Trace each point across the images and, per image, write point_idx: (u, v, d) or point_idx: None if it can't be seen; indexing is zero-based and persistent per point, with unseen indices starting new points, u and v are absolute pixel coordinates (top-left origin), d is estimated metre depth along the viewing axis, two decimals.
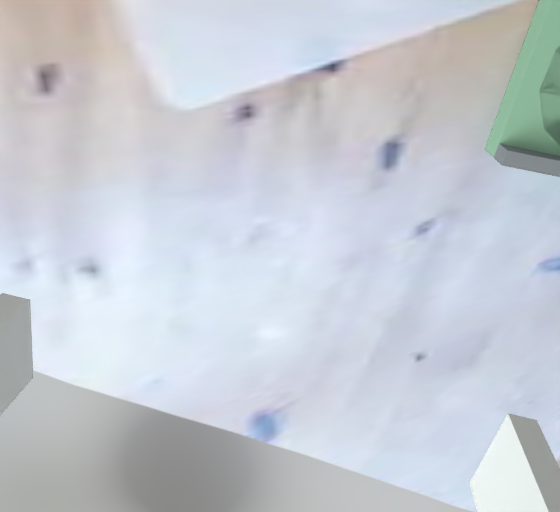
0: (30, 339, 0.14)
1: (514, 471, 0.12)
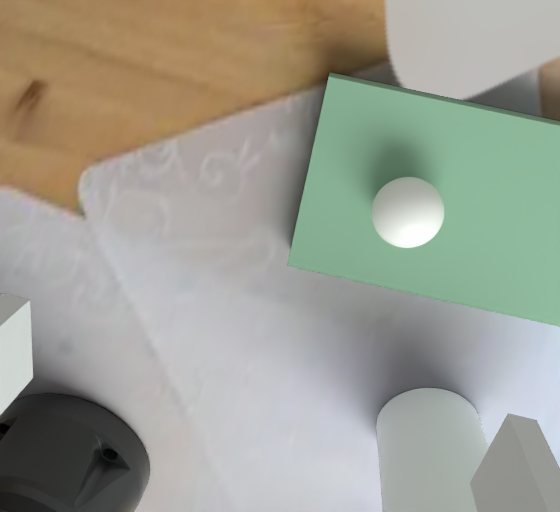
0: (30, 339, 0.14)
1: (514, 471, 0.12)
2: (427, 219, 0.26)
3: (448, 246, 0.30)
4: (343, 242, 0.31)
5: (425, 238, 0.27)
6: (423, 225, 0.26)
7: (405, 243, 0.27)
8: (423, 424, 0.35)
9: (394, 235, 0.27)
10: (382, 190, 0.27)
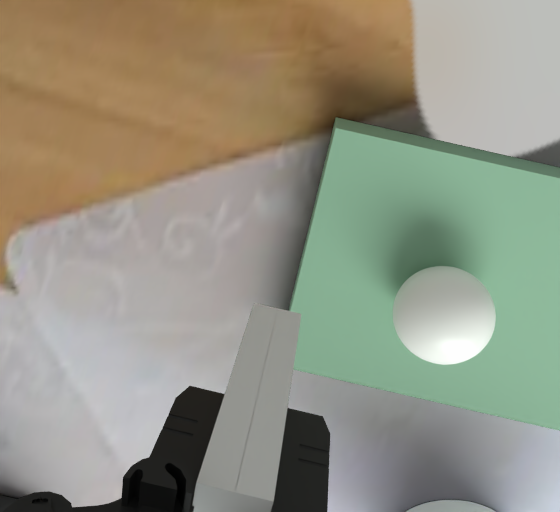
0: None
1: None
2: (475, 334, 0.18)
3: (491, 349, 0.23)
4: (351, 339, 0.23)
5: (470, 356, 0.19)
6: (469, 342, 0.18)
7: (442, 362, 0.19)
8: None
9: (426, 353, 0.19)
10: (409, 286, 0.20)
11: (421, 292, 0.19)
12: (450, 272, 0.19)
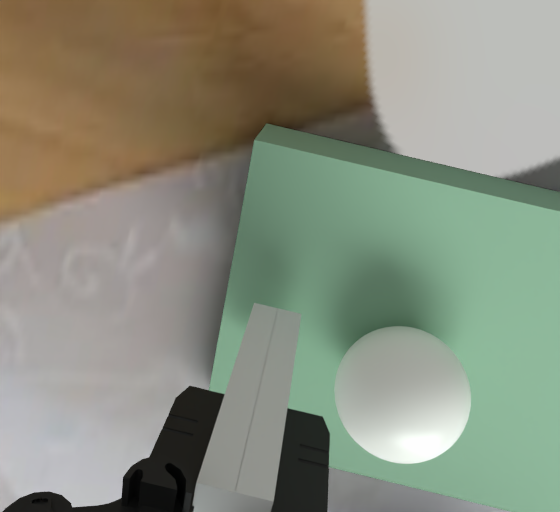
0: None
1: None
2: (440, 431, 0.13)
3: (470, 425, 0.18)
4: (291, 408, 0.18)
5: (434, 457, 0.14)
6: (431, 442, 0.13)
7: (396, 462, 0.14)
8: None
9: (374, 451, 0.14)
10: (354, 356, 0.14)
11: (367, 368, 0.14)
12: (409, 340, 0.14)
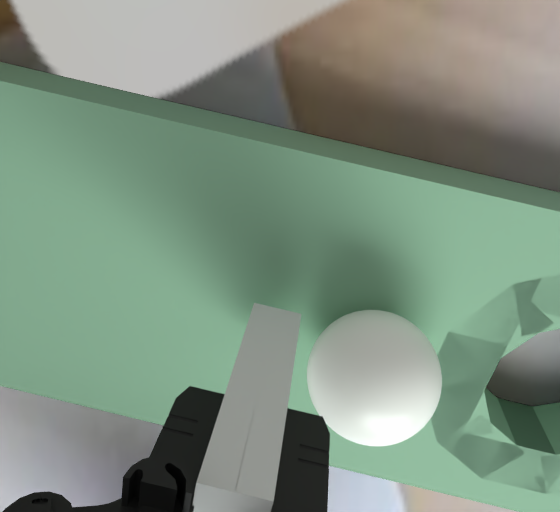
0: None
1: None
2: (347, 397, 0.13)
3: (153, 347, 0.18)
4: None
5: (348, 432, 0.14)
6: (338, 404, 0.13)
7: None
8: None
9: None
10: None
11: (334, 322, 0.15)
12: (380, 317, 0.14)
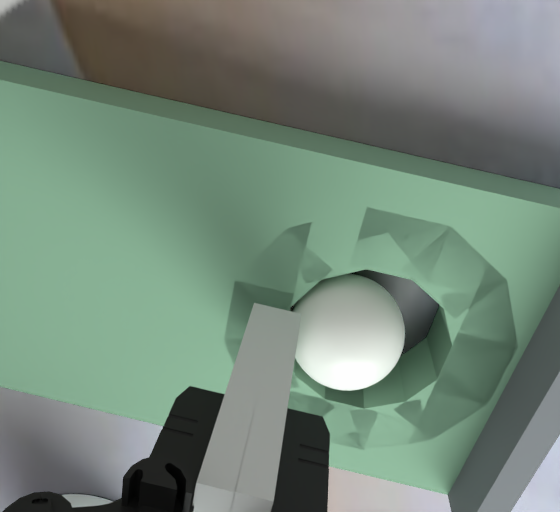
0: None
1: None
2: None
3: None
4: None
5: None
6: None
7: None
8: None
9: None
10: (395, 337, 0.16)
11: (395, 315, 0.16)
12: (357, 307, 0.15)
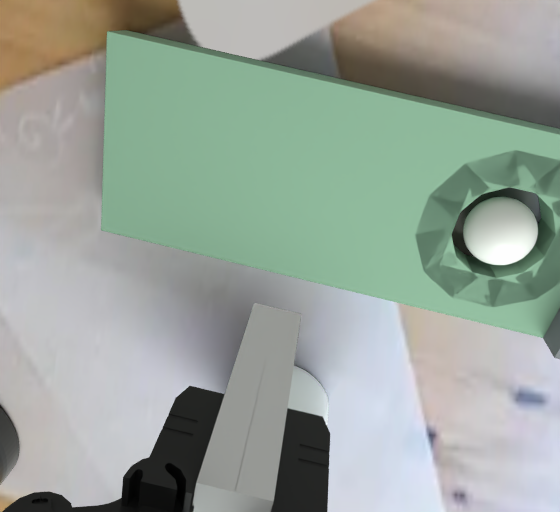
0: None
1: None
2: None
3: (252, 212, 0.30)
4: (150, 206, 0.31)
5: None
6: None
7: None
8: None
9: None
10: (537, 228, 0.28)
11: None
12: (521, 212, 0.27)
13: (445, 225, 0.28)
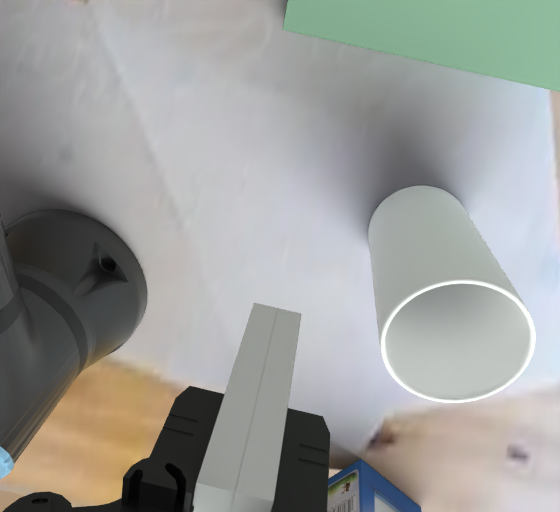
0: None
1: None
2: None
3: None
4: None
5: None
6: None
7: None
8: (413, 203, 0.36)
9: None
10: None
11: None
12: None
13: None
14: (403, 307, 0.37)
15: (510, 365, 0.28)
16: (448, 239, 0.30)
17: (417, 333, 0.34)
